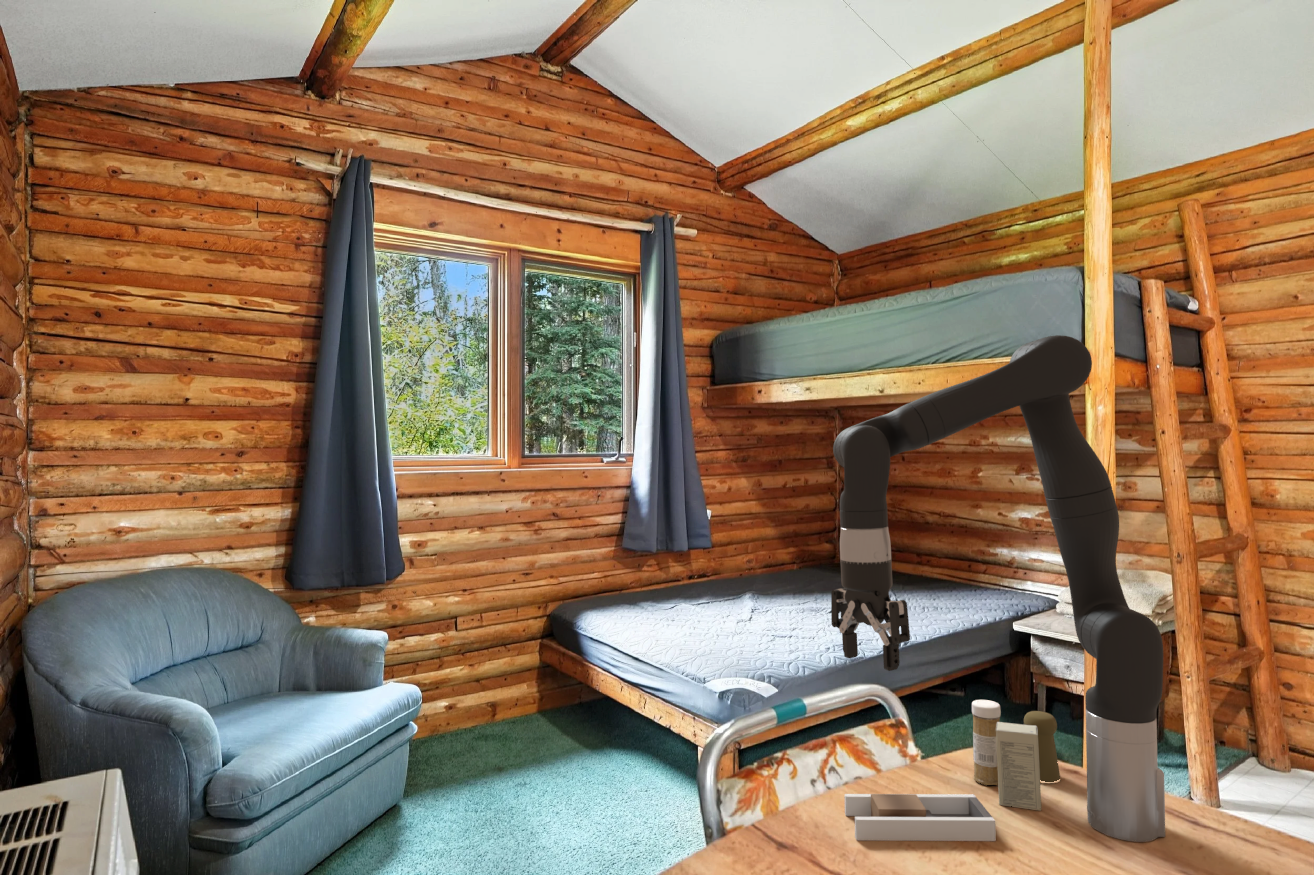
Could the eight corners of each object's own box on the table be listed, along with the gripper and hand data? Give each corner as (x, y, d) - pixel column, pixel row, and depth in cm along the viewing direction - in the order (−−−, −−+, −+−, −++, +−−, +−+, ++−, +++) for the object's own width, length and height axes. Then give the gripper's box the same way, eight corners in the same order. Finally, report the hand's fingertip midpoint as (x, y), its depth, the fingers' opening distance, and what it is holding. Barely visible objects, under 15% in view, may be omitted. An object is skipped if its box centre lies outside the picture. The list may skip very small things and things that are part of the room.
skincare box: (1040, 800, 126) (1039, 725, 127) (1041, 812, 122) (1040, 734, 123) (997, 793, 129) (996, 719, 129) (996, 804, 125) (995, 728, 125)
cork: (1065, 785, 132) (1064, 720, 132) (1027, 782, 133) (1025, 718, 133) (1054, 770, 138) (1053, 708, 138) (1018, 768, 139) (1017, 706, 139)
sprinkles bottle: (1006, 781, 134) (1004, 702, 134) (995, 789, 131) (993, 709, 131) (979, 773, 137) (978, 696, 137) (968, 781, 134) (967, 703, 134)
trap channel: (974, 813, 122) (973, 794, 122) (995, 841, 114) (995, 820, 114) (844, 812, 123) (844, 793, 123) (856, 840, 115) (856, 819, 115)
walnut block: (916, 820, 121) (916, 794, 121) (926, 836, 116) (925, 809, 116) (871, 819, 121) (870, 793, 121) (878, 835, 116) (878, 809, 116)
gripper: (919, 559, 114) (924, 669, 114) (851, 549, 127) (856, 649, 126) (881, 564, 110) (886, 679, 110) (815, 554, 123) (820, 657, 123)
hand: (870, 663), depth 118 cm, fingers open, 8 cm apart
